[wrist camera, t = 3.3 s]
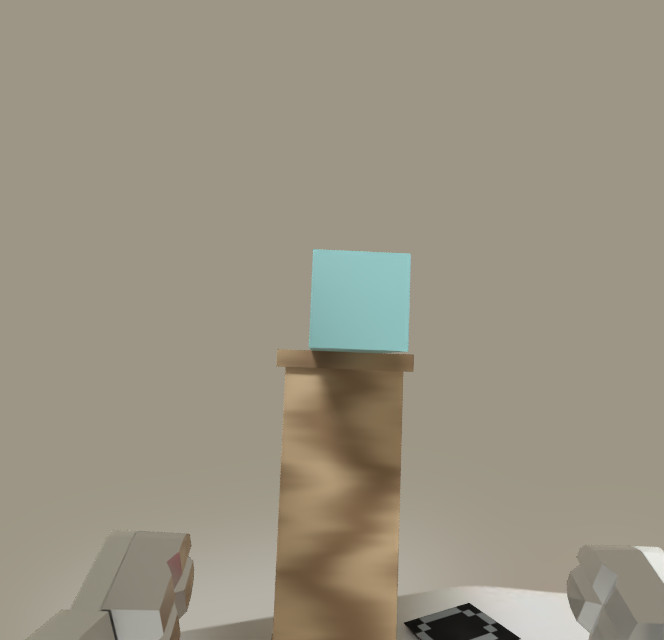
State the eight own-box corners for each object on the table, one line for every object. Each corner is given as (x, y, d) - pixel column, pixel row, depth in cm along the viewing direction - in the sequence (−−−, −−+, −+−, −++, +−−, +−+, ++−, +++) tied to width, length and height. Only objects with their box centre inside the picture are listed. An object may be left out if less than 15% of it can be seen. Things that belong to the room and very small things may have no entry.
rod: (308, 347, 19) (313, 249, 19) (313, 352, 40) (315, 307, 41) (408, 351, 19) (410, 253, 19) (359, 354, 41) (360, 309, 41)
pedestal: (242, 843, 24) (267, 348, 26) (271, 658, 39) (285, 351, 41) (412, 845, 25) (424, 354, 27) (376, 660, 40) (385, 355, 42)
